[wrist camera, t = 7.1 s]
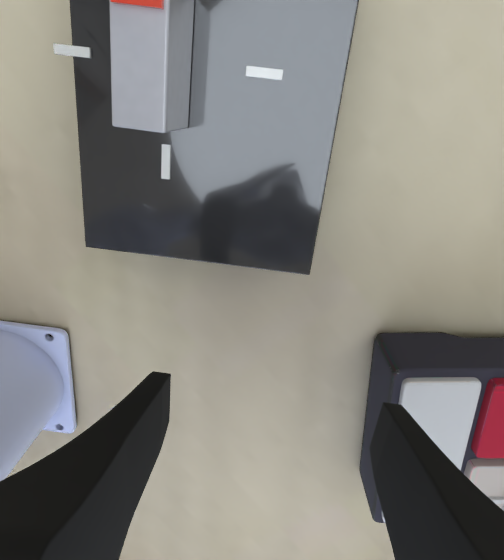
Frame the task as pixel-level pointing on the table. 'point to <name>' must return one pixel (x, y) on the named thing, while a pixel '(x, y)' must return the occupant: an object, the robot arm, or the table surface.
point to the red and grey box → (442, 402)
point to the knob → (151, 63)
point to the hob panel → (218, 136)
